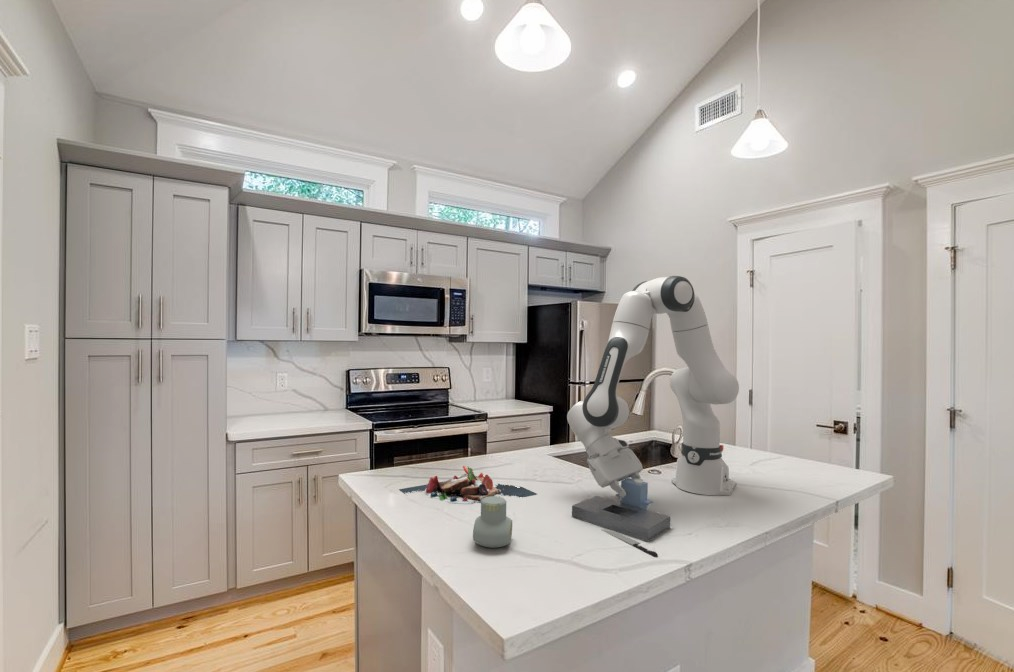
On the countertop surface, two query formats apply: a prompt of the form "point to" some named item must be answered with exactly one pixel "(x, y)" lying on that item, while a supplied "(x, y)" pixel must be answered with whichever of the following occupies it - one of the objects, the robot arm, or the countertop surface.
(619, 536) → the chef's knife
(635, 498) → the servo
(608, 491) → the countertop surface
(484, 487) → the platter
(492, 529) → the air freshener
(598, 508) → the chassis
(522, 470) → the countertop surface
